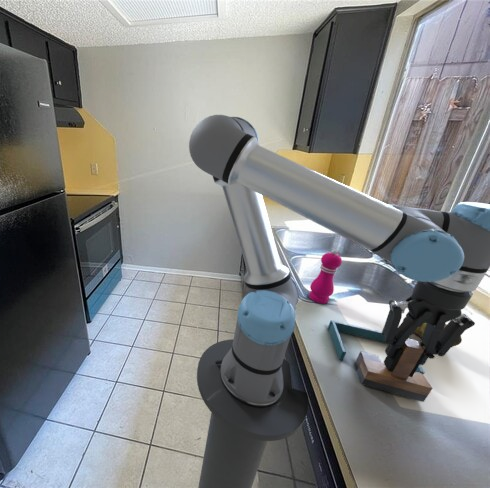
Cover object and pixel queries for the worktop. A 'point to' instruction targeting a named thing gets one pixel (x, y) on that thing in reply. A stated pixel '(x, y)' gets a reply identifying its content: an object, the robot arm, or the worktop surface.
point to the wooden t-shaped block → (397, 374)
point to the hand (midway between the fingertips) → (397, 369)
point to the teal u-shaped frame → (354, 330)
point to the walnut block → (366, 356)
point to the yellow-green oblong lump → (420, 331)
